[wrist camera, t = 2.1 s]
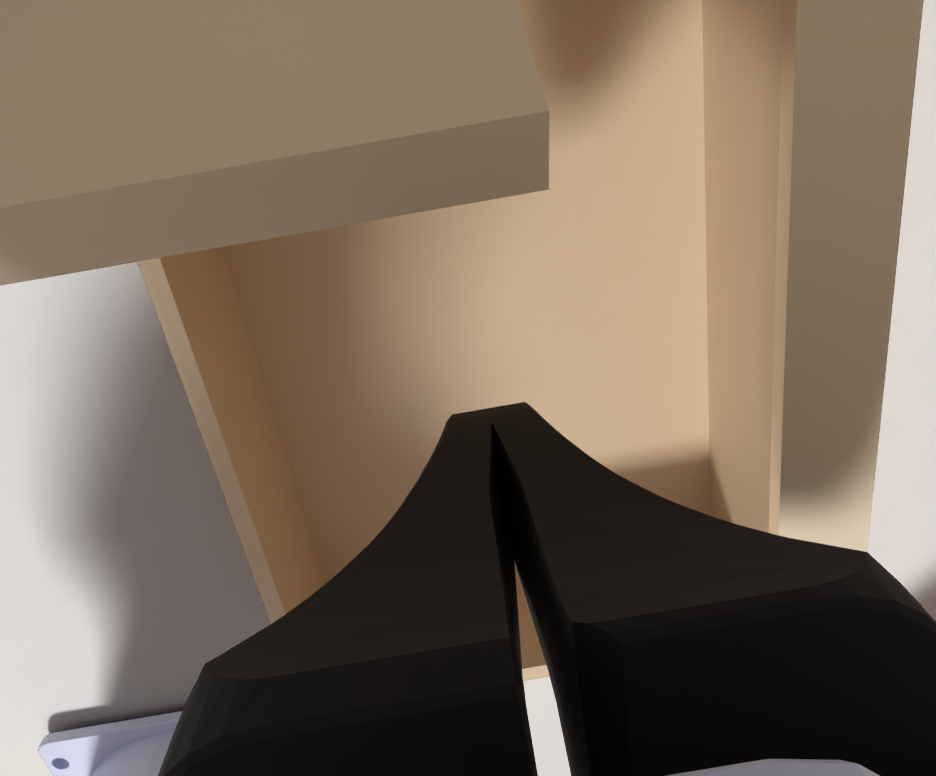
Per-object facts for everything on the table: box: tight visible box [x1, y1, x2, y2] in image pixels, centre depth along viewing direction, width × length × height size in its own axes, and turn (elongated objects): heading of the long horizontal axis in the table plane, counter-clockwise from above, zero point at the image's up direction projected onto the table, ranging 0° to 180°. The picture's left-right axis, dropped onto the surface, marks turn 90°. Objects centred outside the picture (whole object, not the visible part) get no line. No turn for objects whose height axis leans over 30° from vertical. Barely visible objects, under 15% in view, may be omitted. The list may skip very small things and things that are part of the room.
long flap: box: [779, 0, 923, 552], centre depth 11 cm, size 13×6×1 cm
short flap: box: [0, 0, 549, 286], centre depth 8 cm, size 6×6×1 cm
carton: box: [138, 0, 797, 681], centre depth 16 cm, size 16×12×4 cm
